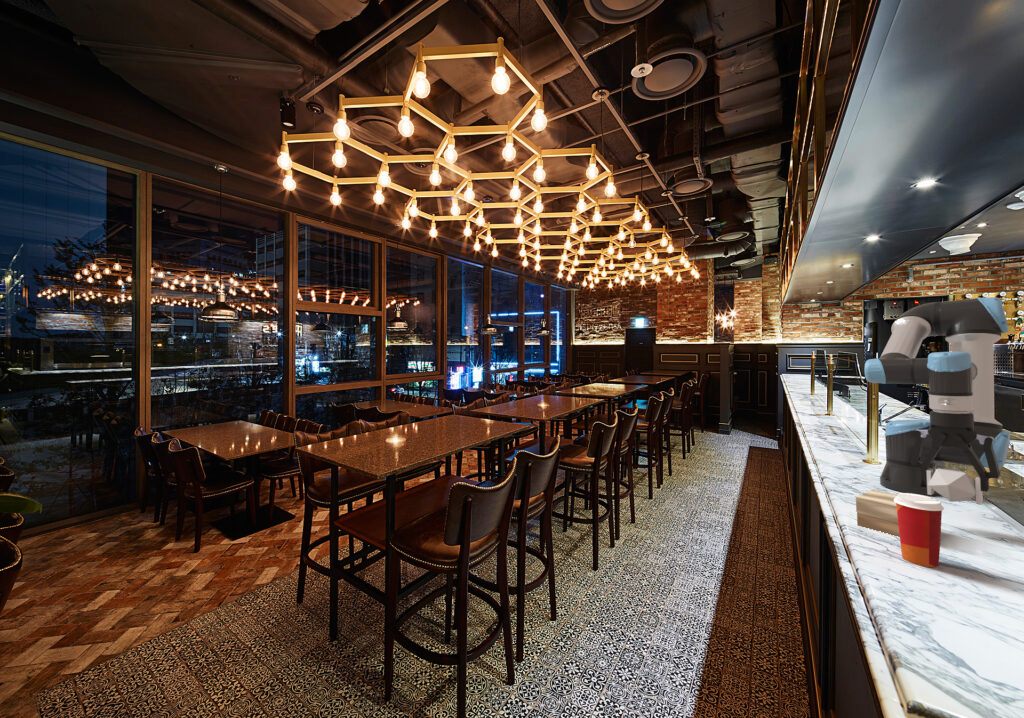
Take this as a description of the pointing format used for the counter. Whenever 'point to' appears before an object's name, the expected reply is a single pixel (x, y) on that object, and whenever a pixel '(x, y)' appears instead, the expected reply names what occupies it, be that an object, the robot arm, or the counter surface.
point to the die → (953, 484)
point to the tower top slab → (877, 505)
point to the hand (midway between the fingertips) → (954, 498)
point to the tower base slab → (878, 524)
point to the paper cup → (919, 528)
